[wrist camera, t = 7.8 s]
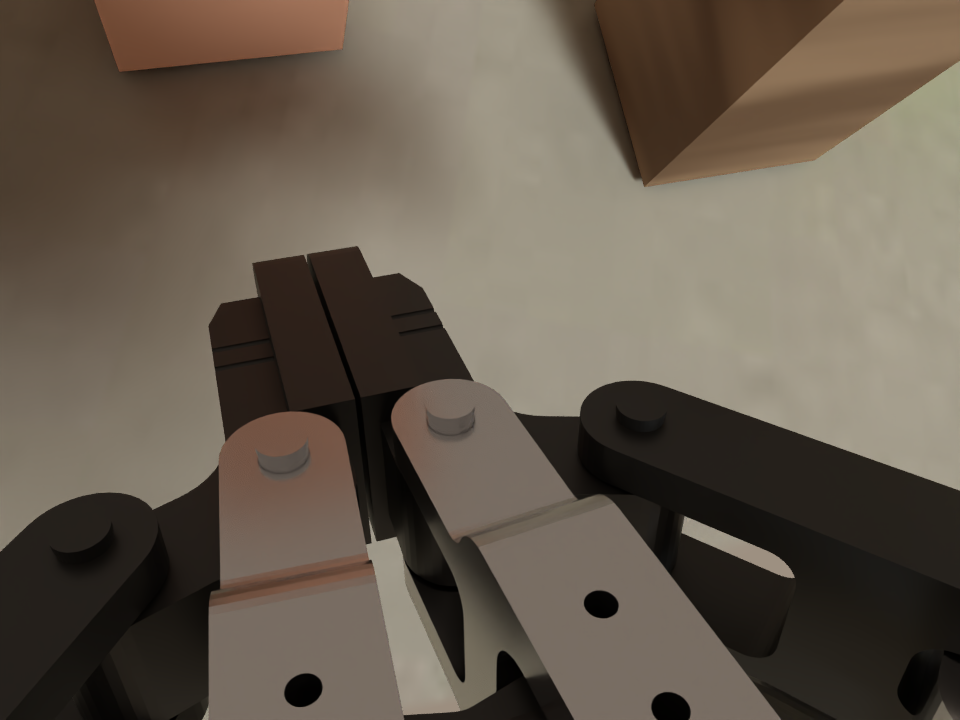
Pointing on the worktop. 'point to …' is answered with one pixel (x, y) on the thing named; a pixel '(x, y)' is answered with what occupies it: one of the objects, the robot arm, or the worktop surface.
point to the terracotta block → (218, 30)
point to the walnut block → (765, 75)
